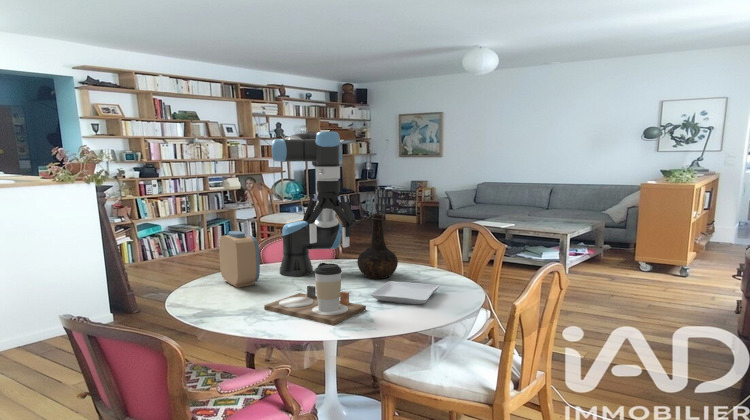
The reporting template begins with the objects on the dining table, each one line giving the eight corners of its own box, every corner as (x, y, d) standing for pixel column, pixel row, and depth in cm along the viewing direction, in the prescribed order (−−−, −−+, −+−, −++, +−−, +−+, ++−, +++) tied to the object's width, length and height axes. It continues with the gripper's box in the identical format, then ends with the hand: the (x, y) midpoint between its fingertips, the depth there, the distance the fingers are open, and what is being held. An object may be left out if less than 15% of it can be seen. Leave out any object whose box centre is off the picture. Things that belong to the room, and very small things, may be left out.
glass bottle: (384, 270, 220) (383, 210, 217) (405, 278, 205) (405, 214, 202) (350, 275, 211) (349, 213, 208) (370, 283, 196) (370, 216, 193)
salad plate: (369, 302, 170) (369, 293, 170) (388, 288, 190) (388, 279, 190) (426, 309, 163) (426, 299, 163) (440, 293, 183) (440, 284, 182)
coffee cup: (347, 308, 157) (347, 264, 156) (327, 314, 150) (326, 268, 149) (329, 302, 163) (329, 260, 162) (309, 308, 157) (308, 264, 155)
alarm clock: (260, 286, 193) (259, 234, 190) (238, 290, 187) (236, 236, 185) (241, 276, 209) (240, 228, 207) (220, 280, 203) (218, 230, 201)
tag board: (264, 309, 162) (263, 293, 162) (299, 296, 177) (299, 282, 177) (333, 325, 146) (333, 308, 145) (365, 309, 161) (365, 294, 161)
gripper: (291, 179, 156) (293, 242, 158) (353, 181, 142) (353, 250, 145) (306, 178, 162) (307, 239, 165) (366, 180, 149) (367, 246, 151)
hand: (329, 244), depth 155 cm, fingers open, 13 cm apart
